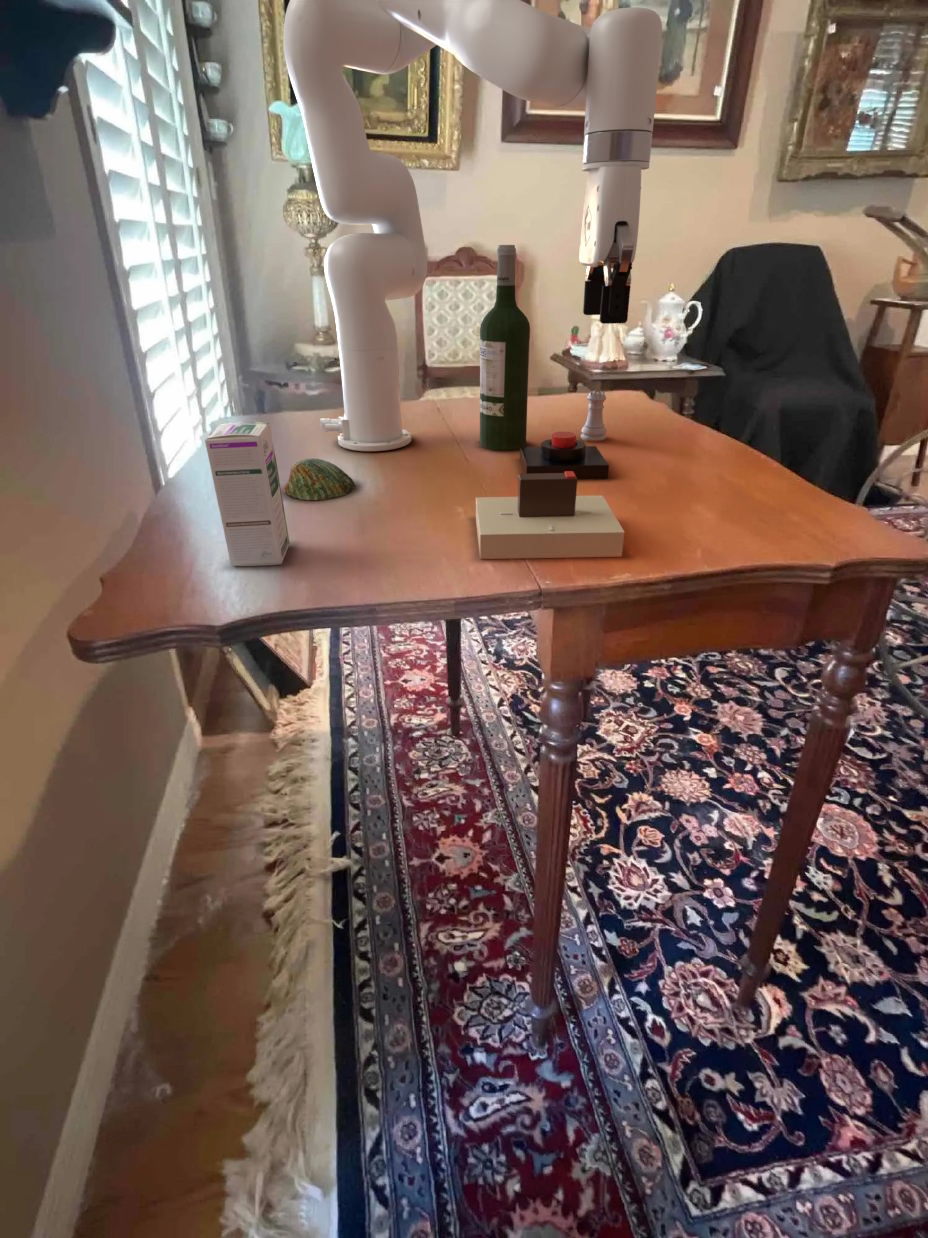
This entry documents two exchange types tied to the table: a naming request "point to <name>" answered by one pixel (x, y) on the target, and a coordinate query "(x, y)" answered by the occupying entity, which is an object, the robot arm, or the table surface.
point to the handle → (547, 494)
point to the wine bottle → (504, 364)
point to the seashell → (317, 480)
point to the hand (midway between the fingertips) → (603, 318)
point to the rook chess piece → (594, 418)
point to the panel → (547, 530)
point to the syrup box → (248, 493)
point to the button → (563, 439)
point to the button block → (564, 460)
